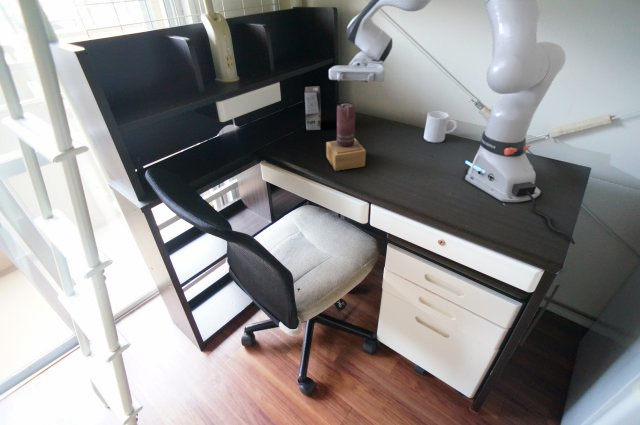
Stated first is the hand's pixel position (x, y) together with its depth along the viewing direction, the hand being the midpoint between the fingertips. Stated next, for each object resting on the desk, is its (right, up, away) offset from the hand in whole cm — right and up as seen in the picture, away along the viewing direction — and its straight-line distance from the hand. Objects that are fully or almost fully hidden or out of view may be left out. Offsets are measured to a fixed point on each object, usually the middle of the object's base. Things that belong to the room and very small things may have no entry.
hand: (353, 79), depth 112 cm
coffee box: (-14, -7, +33) cm, 37 cm away
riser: (-2, -27, +6) cm, 28 cm away
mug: (+36, -17, +18) cm, 44 cm away
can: (-2, -22, +3) cm, 22 cm away
